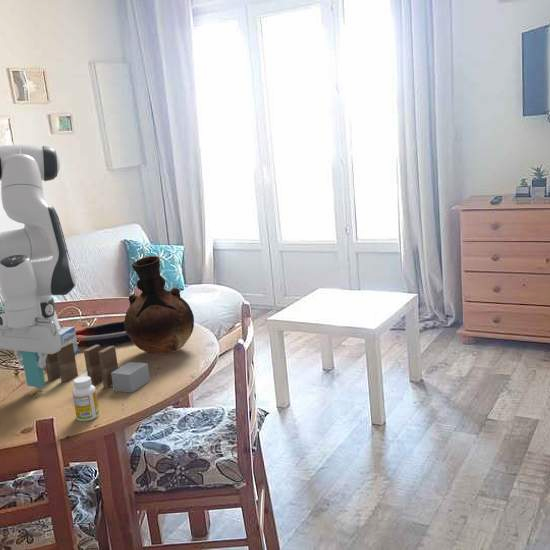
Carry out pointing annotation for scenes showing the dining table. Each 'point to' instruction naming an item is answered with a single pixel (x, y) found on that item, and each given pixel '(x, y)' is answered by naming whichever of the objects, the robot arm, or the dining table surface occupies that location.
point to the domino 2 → (52, 367)
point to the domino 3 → (67, 362)
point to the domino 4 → (93, 364)
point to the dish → (102, 335)
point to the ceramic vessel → (157, 312)
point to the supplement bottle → (85, 399)
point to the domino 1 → (33, 369)
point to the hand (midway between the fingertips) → (32, 366)
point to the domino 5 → (108, 364)
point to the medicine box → (68, 337)
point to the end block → (130, 377)
